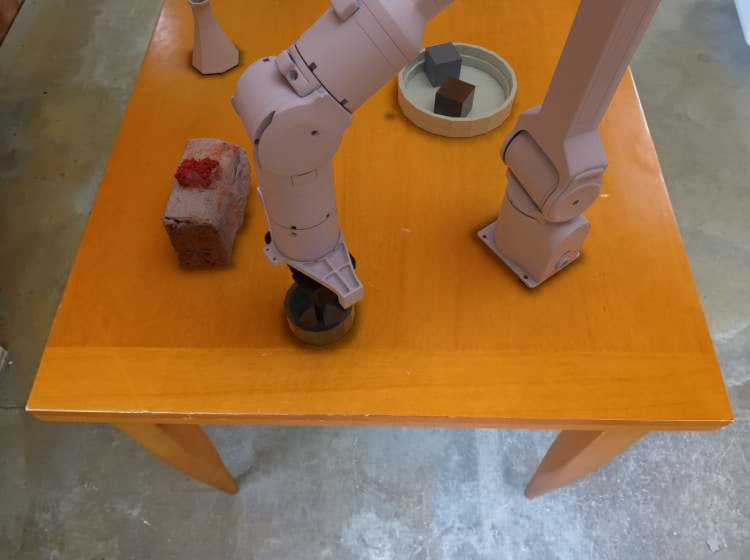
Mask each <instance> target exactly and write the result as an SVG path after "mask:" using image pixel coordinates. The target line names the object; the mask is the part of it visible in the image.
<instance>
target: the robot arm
mask: <svg viewBox="0 0 750 560" xmlns="http://www.w3.org/2000/svg"><path fill="white" fill-rule="evenodd" d="M661 1H662V0H580V1H579V5H578V7H577V10H576V13H575V16H574V18H573V21H572V22H571V26H570V29H569V31H568V34H567V37H566V39H565V42H564V45H563V48H562V50H561V53H560V55H559V58H558V60H557V64H556V66H555V68H554V71H553V74H552V77H551V80H550V82H549V85H548V88H547V91H546V93H545V96H544V98H543V100H542V101H543V102H542V103H541V104H537V105H535V106H532V107H530V108H527V109H526V110H524V111H522V112H520V113H519V115H518V117H517V120H516V123H515V125H514V127H513V128H512V130H511V131H510V132H509V133H508V135H507V136H505V139H504V140H503V142H502V144H501V147H500V149H499V159H500V160H501V162H502V163H503V164H504V165H505V166H507V169H506V172H505V177H506V178H507V185H506V188H505V191H504V195H503V197H502V202H501V205H500V209H499V212H498V216H497V219H496V220H495V221H493V222H492V223H490V224H488V225H486V226H485V227H484V228H481V229H480V230H479V231H477V234H476V235H477V237H478V238H479V239H480V240H481V241H482V242H483V243H484V244H485V245H486V246H487V247H488V248H489V249H490V250H491V251H492V252H493V253H494V254H495V255H496V256H497V257H498V258H500V260H501V261H502V262H503V263H505V265H506V266H508V267H509V269H511V270H512V271H513V272H514V274H515V275H516V276H518V279H520V281H521V282H522V283H523V284H524V285H525V286H526V287H527V288H529V289H534V288H536V287H538V286H539V285H540V284H542V283H543V282H545V281H546V280H548V279H549V278H551V277H552V276H554V275H556V274H557V273H558V272H559V271H561V270H562V269H564V268H565V267H566V266H569V265H570V264H571V263H572V262H574V261H575V260H577V259H578V258H579V257H580V254H581V253H580V250H581V248H582V246H583V244H584V242H585V240H586V238H587V236H588V235H589V232H590V230H591V228H592V224H591V222H590V221H589V220H588V219H587V218H586V217H585V215H584V214H583V213H584V212H586V211H587V210H588V209H590V208H591V206H593V204H594V203H595V202H596V201H597V199H598V198H599V197H600V193H601V191H602V189H603V177H604V174H605V172H606V169H607V168H608V166H609V161H608V156H607V153H606V148H605V146H604V142H603V139H602V136H601V132H600V126H601V125H600V124H601V123H602V121H603V118H604V116H605V115H606V113H607V110H608V108H609V107H610V104H611V103H612V100H613V98H614V96H615V95H616V92H617V90H618V88H619V87H620V84H621V82H622V80H623V78H624V76H625V74H626V72H627V70H628V68H629V67H630V64H631V62H632V60H633V57H634V56H635V54H636V52H637V50H638V48H639V46H640V44H641V41H642V40H643V38H644V35H645V34H646V31H647V29H648V28H649V25H650V24H651V21H652V19H653V18H654V15H655V14H656V11H657V10H658V7H659V5H660V3H661ZM454 2H456V0H329V4H330V7H329V8H328V9H327V10H326V11H325V12H324V13H323V14H322V15H321V16H319V18H317V19H316V20H315V21H314V22H313V23H312V24H311V25H310V26H309V27H308V28H307V29H306V30H305V31H303V33H302V34H301V35H300V36H298V38H297V39H295V41H293V42H292V44H291V45H290V46H289V47H287V48H286V49H283V50H282V51H281V52H280V53H278V55H269V56H265V57H262V58H259V59H257V60H255V61H253V62H252V63H251V64H250V65H248V66H247V67H246V68H245V69H244V71H243V72H242V74H241V75H240V77H239V78H238V80H237V82H236V83H235V87H236V90H233V95H232V96H231V97H230V99H229V100H230V104H231V106H232V108H233V109H234V111H235V113H236V114H237V116H238V117H239V118H240V121H241V123H242V126H243V128H244V130H245V132H246V134H247V137H248V139H249V142H250V144H251V147H252V158H253V161H254V163H255V164H254V166H255V167H254V169H255V173H256V177H257V182H258V184H259V186H258V187H256V188H255V189H256V193H257V197H258V201H259V203H260V204H261V205H262V206H263V208H264V212H265V216H266V221H267V226H268V231H267V232H265V235H264V243H265V244H266V245H265V246H264V247H263V249H262V251H263V252H262V253H263V255H264V258H265V259H266V260H267V261H268V263H269V264H270V265H271V267H274V268H275V267H279V266H281V265H284V264H286V265H287V268H289V271H290V272H291V278H292V280H293V281H294V282H296V283H297V285H298V286H299V287H300V289H301V290H302V291H303V292H304V293H305V294H306V295H308V296H310V297H311V299H312V300H313V301H314V303H315V304H316V305H317V307H319V308H321V307H322V306H324V305H326V304H327V303H329V302H331V301H332V300H334V299H335V298H336V295H338V298H339V303H340V304H341V305H342V307H343V308H344V309H346V308H348V307H349V306H351V305H353V304H354V305H355V304H356V303H358V302H359V301H361V300H362V299H364V298H365V296H364V295H365V291H364V285H363V284H362V282H361V281H360V279H359V278H358V276H357V274H356V271H355V270H356V269H357V260H356V258H355V257H354V256H353V254H352V253H351V252H350V251H349V249H348V246H347V243H346V240H345V236H344V234H343V229H342V227H341V224H340V222H339V215H338V203H337V195H336V185H335V174H334V164H333V158H334V157H335V155H336V154H337V152H338V151H339V149H340V147H341V144H342V142H343V138H344V134H345V132H346V130H347V129H349V127H350V126H351V125H352V121H353V120H354V117H353V113H355V112H356V111H357V110H358V109H359V108H360V107H361V106H362V105H364V104H365V103H366V102H367V101H368V100H369V99H371V98H372V97H373V96H374V95H375V94H376V93H377V92H378V91H380V90H381V89H382V88H384V86H386V85H387V84H388V83H389V82H390V81H391V80H392V79H394V78H395V77H396V76H397V75H398V74H399V72H400V71H401V70H402V69H404V68H405V67H406V66H407V65H408V64H409V63H410V62H411V61H413V60H414V59H415V58H416V57H417V56H418V55H419V54H420V52H421V49H423V43H424V37H425V31H426V27H427V24H428V22H430V21H431V20H432V19H434V18H435V17H436V16H437V15H439V14H440V13H441V12H442V11H444V10H445V9H447V7H449V6H450V5H451V4H453V3H454ZM483 236H485V237H483Z"/></svg>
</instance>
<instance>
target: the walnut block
mask: <svg viewBox="0 0 750 560" xmlns="http://www.w3.org/2000/svg"><path fill="white" fill-rule="evenodd" d="M475 88H476V86H475V85H472V84H469V83H467V82H464V81H461V80H459V79H456V78H453V77H451V76H449V77H448V78H447V79H446V81H445V82H444V83H443V84H442V86H441V87H440V88H439V89H438V91H437V92H436V94H435V104H434V113H435V114H439V115H443V116H448V117H452V118H466V116H467V115H468V113H469V112H470V111H471V109H472V104H473V99H474V93H475Z"/></svg>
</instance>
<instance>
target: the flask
mask: <svg viewBox="0 0 750 560" xmlns="http://www.w3.org/2000/svg"><path fill="white" fill-rule="evenodd" d="M186 2H187V4H188V5H190V8H191V11H192V14H193V24H194V27H193V47H192V59H191V65H192V66H193V67H194V68H195V69H196V70H198V71H199V72H200V73H201V74H202V75H208V74H218V73H225V72H227V71H228V70H230V69H232V68H233V67H235V66H237V65H239V57H240V56H239V55H240V54H239V50H238V48H237V47H236V45H235V44H234V43H233V42H232V40H231V38H229V36H228V34H227V32H226V31H225V30H224V28H223V27H222V26H221V24H220V23H219V21H218V19H217V17H216V15H215V13H214V10H213V9H212V5H211V0H186Z"/></svg>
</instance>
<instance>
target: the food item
mask: <svg viewBox="0 0 750 560" xmlns="http://www.w3.org/2000/svg"><path fill="white" fill-rule="evenodd" d="M173 177H174V178H173V183H172V186H171V189H170V190H171V191H170V194H169V196H168V199H167V200H168V201H167V204H166V205H165V210H164V212H163V215H162V217H161V218H160V221H162V226H163V228H164V230H165V231H166V234H167V236H168V239H169V241H170V244H171V247H172V248H173V251H174V253H175V254H176V256H177V262H179V263H180V264H181V265H186V266H223V265H229V264H231V262H232V261H231V260H232V254H233V250H234V248H233V247H234V243H235V240H236V238H237V233H238V231H239V230H240V229H241V227H242V226H243V225H244V217H245V210H246V207H247V205H248V203H249V202H248V201H249V200H248V197H249V195H250V192H251V181H252V166H251V162H250V160H249V159H248V152H247V150H246V149H245V148H243V146H242V145H237V144H236V143H231V142H230V141H229V142H228V141H227V140H224V139H220V138H219V139H218V138H210V137H200V138H199V137H197V138H186V140H185V144H184V150H183V152H182V154H181V157H180V160H179V163H178V166H177V169H176V172H175V173H174V174H173Z"/></svg>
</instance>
